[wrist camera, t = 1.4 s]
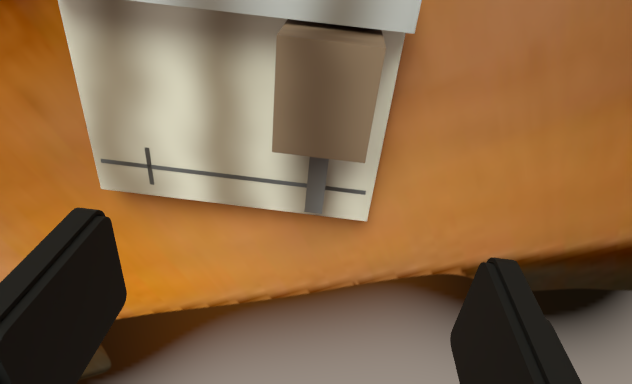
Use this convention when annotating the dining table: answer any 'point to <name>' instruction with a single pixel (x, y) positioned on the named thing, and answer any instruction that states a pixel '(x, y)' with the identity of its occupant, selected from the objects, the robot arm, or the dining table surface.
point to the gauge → (325, 96)
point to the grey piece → (214, 97)
